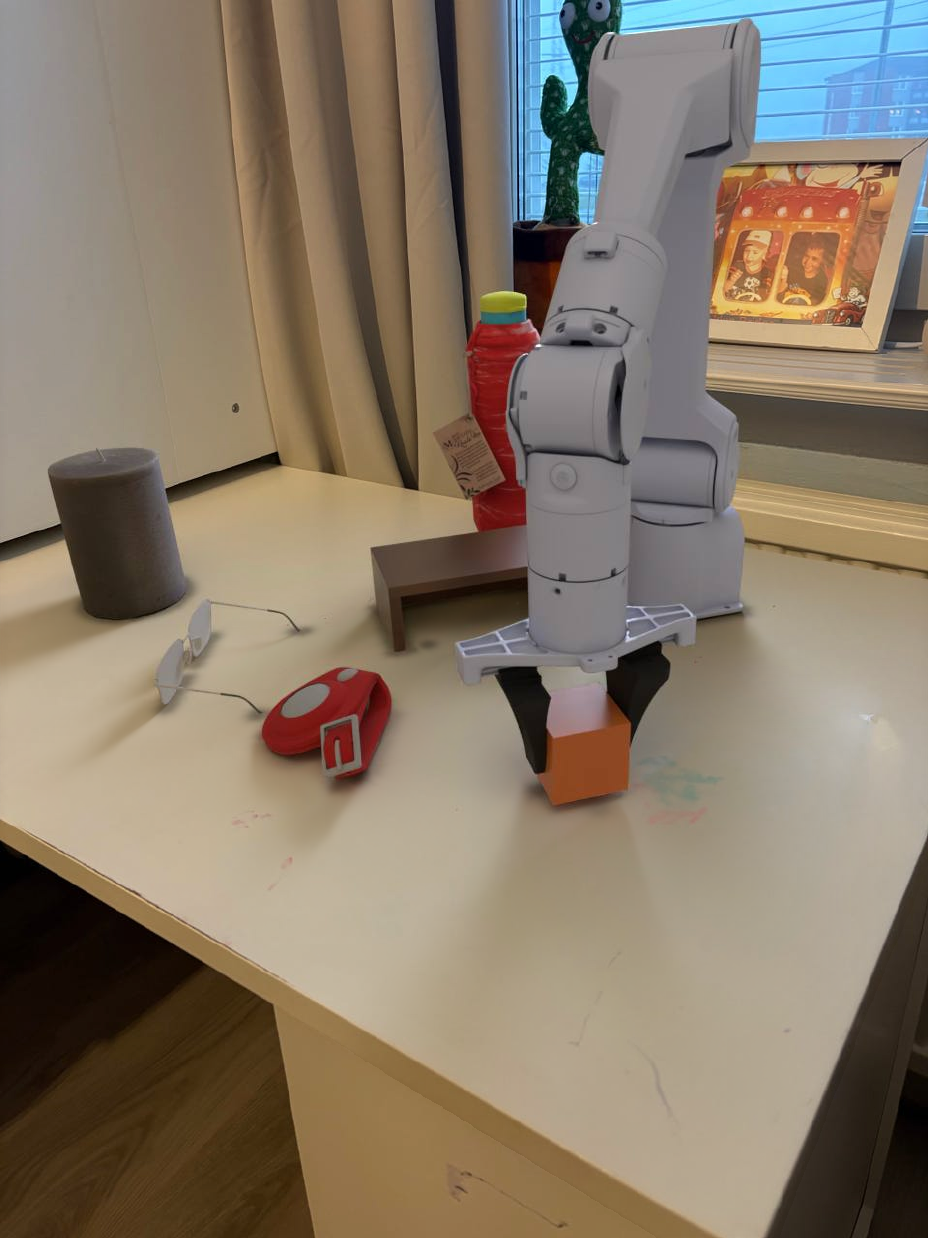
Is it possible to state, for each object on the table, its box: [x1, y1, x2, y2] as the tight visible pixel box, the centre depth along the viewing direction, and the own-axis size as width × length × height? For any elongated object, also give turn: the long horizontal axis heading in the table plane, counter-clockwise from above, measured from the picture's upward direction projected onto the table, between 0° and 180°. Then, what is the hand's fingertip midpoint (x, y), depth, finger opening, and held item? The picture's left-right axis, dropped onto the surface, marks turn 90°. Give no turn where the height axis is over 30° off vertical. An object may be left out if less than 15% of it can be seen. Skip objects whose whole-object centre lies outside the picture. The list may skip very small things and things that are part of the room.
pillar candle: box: [47, 446, 187, 620], centre depth 85 cm, size 10×10×15 cm
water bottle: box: [432, 290, 541, 532], centre depth 90 cm, size 12×8×25 cm, turn 124°
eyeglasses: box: [153, 598, 301, 715], centre depth 74 cm, size 14×8×4 cm, turn 177°
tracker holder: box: [260, 666, 393, 779], centre depth 64 cm, size 12×4×10 cm
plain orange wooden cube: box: [536, 682, 631, 806], centre depth 57 cm, size 5×5×5 cm
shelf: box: [369, 525, 528, 653], centre depth 80 cm, size 16×9×6 cm, turn 105°
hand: (576, 756), depth 58 cm, fingers closed on plain orange wooden cube, 5 cm apart
